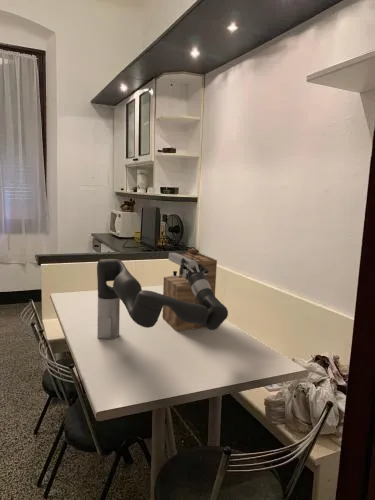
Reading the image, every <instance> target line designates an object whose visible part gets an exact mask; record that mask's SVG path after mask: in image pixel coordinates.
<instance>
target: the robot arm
mask: <svg viewBox="0 0 375 500" xmlns="http://www.w3.org/2000/svg"><path fill="white" fill-rule="evenodd" d="M191 259H192V260H194V259H193V258H191ZM97 261H98V262H97V265H96V277H97V278H96V280H97V339H104V340H112V339H116V338H117V337H119V336H120V318H121V317H120V314H121V313H120V311H121V310H120V308H121V305H120V303H121V302H122V303H123V305H124V306H125V308H126V311H127V313H128V314H129V317H130V318H131V320H132V321H133V322H134V323H136V324H137V325H138V326H140V327H143V328H146V329H147V328H148V329H149V328H153V327H154V326H155V325H156V324H157V322H158V320H159V318H160V315H161V312H162V311H163V306H164V305H165V306H168V307H169V308H170V309H172V311H173V312H174V313H175V314H176V315H177V316H178V318H179V319H181V320H182V321H184V322H187V323H195V324H199V325H201V326H204V327H205V328H204V329H207V330H210V331H214V330H217V329H218V328H219V327H220V326H221V325H222V324H223V323H224V321H226V319H227V318H228V316H229V310H228V308H227V307H226V306H225V305H224V304H223V303H222V302H221V301H220V300H219V299H218V298H217V297H216V294H215V295H214V293H213V291H212V289H211V286H210V284H209V282H208V281H207V279H206V277H205V276H207V275H208V273H209V271H208V270H207V269H206V268H205V267H204V266H203V265H202V264H197V263H196V266H195V268H194V269H191V268H190V266H188V265H187V264H186V261H185V259H184V258H182V260H181V266H180V265H179V271H178V276H179V277H180V278H181V277H185V278H186V279H187V280H188V283H189V285H190V287H191V289H192V291H193V294H194V295H195V297H196V298H197V301H198V303H199V304H193V303H187V302H184V301H181V300H178V299H175V298H172V297H169V296H166V295H163V294H162V293H159V292H157V291H156V292H155V291H153V290H145V289H142V286H141V283H140V282H139V280H138V279H137V278H135V276H133V275H132V274H131V273H130V271H129V270H128V268H127V267H126V265H125V263H123V261H122V260H121V259H117V258H108V259H107V258H106V259H105V258H104V259H99V260H97ZM194 261H195V260H194ZM201 268H202V269H201ZM183 269H184V271H185V273H186V274H185V273H184V271H183ZM108 282H113V283H112V286H110V285H108V284H107V283H108ZM208 309H209V310H208Z"/></svg>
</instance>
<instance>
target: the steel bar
mask: <svg viewBox="0 0 375 500" xmlns="http://www.w3.org/2000/svg"><path fill="white" fill-rule="evenodd" d="M182 258H184V259H185V261H186V264H187V265H188V266H190V268H191V269H194V268H195V266H196V261H194V260H192V259H190V258H187V257H185V256H183V255H182V254H180V253H179V252H178V253H177V252H168V261H170V262H172V263H174V264H176V265H178V266H179V267H180V266H181V260H182Z"/></svg>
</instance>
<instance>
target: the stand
mask: <svg viewBox="0 0 375 500" xmlns="http://www.w3.org/2000/svg"><path fill="white" fill-rule="evenodd" d="M181 255H183V256H185V257H187V258H190V259H191V258H193V259H194V260H195V261H196V263H197V264H202V265H203V266H204V267H205V268H206V269H207V270H208V271H209V273H208V275H207V276H205V277H206V279H207V281H208V282H209V284H210V286H211V289H212V291H213V293H214V295H215V296H216V286H217V285H216V284H217V283H216V282H217V268H218V267H217V264H218V259H215V258H213V257H210V256H208V255H205V254H202V253H200V252H198V249H196V248H188V249H187V251H186V252H185V253H181ZM201 269H202V268H201ZM183 271H184V269H183ZM184 273H185V271H184ZM185 274H186V273H185ZM172 276H173V275H172ZM162 292H163V295H166V296H169V297H172V298H175V299H178V300H181V301H184V302H187V303H193V304H199V303H198V301H197V298H196V297H195V295H194V294H193V291H192V289H191V287H190V285H189V283H188V280H187V279H186V278H185V277H181V278H180V277H179V275H177V276H173V277H168V276H163V289H162ZM208 310H209V309H208ZM161 318H163V319H162V320H163V321H165V323H167V324H168V326H170V327H171V328H172V329H173V330H174V331H175V332H179V331H181V332H182V331H187V330H188V331H189V330H197V329H198V330H199V329H206V328H205V327H204V326H201V325H199V324H195V323H187V322H184V321H182V320H181V319H179V318H178V316H177V315H176V314H175V313H174V312H173V311H172V309H170V308H169V307H168V306H165V305H164V306H163V307H162V317H161Z"/></svg>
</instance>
